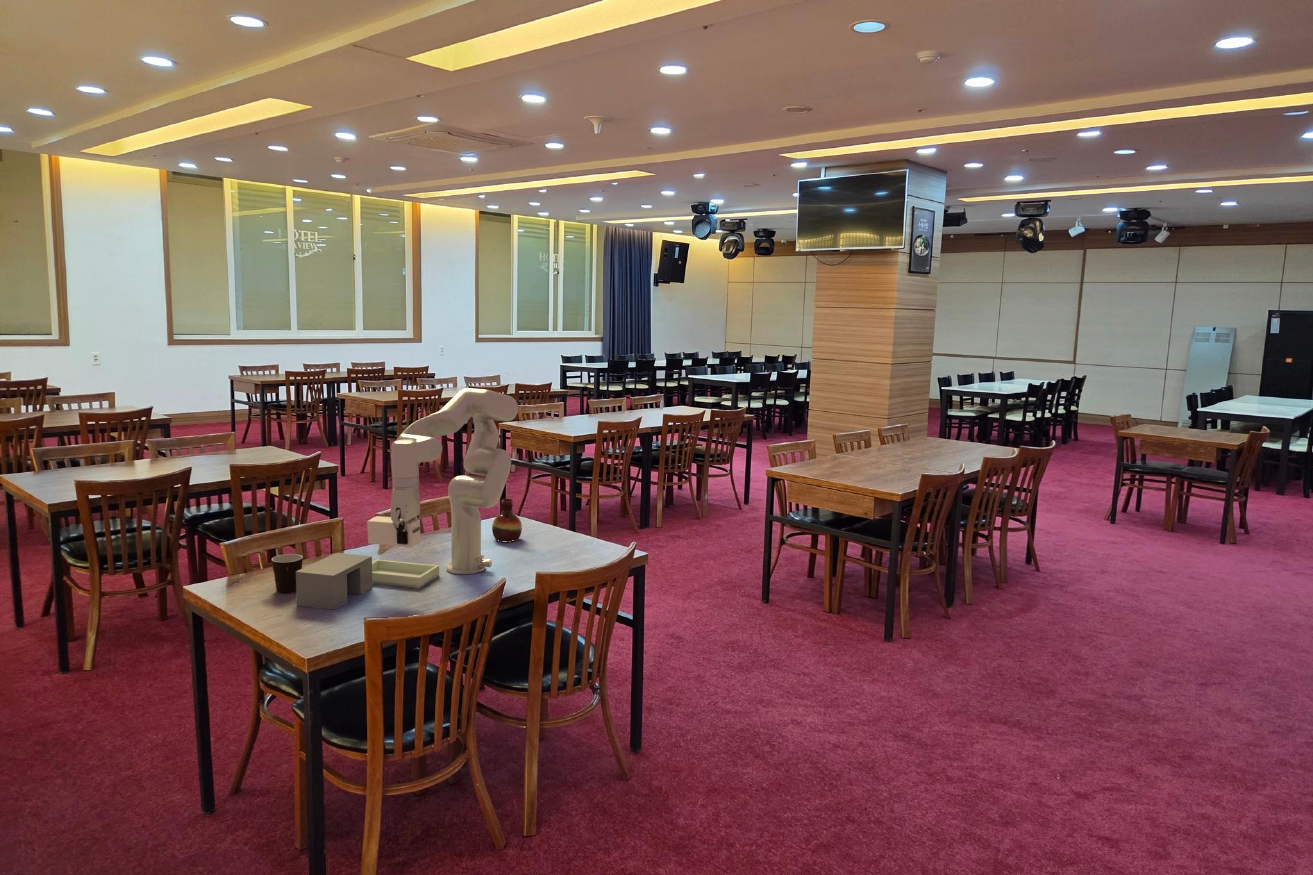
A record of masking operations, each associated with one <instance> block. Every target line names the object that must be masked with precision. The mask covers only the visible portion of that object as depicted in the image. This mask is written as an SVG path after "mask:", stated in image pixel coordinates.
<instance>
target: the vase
mask: <svg viewBox="0 0 1313 875" xmlns="http://www.w3.org/2000/svg"><path fill="white" fill-rule="evenodd" d="M513 503H514V500H513V499H512V498H503V499H502V500H501V509H502V511H501V513H499V514H498V515H497V516H496V517H495V518H494V520H493V523H492V525H491V531H492V535H493V537H494V539H495V540H496V541H497V540H499V541H512V540H517V539H518V538H520V537H521V534H522V531H523V530H522V529H523V525H522V522H521V519H520V518H519V517H518V515H516V514H515V513H513ZM518 540H519V539H518ZM518 540H517V541H518ZM499 541H498V542H499Z"/></svg>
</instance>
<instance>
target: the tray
mask: <svg viewBox="0 0 1313 875" xmlns="http://www.w3.org/2000/svg"><path fill="white" fill-rule="evenodd" d="M439 577H440V565H437V564H427V563H417V562H407V561H399V560H398V561H397V560H396V561H395V560H389V559H387V560H386V559H378V558H377V559H375V560H372V583H373V584H372V585H374V584H375V585H383V586H392V587H400V588H408V589H409V588H410V589H417V590H418V589H419V590H420V589H422V588H423V587H424V586H426V585H428V584H429V583H431V582H432V581H434V580H435V579H438V578H439Z"/></svg>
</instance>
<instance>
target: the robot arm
mask: <svg viewBox="0 0 1313 875" xmlns="http://www.w3.org/2000/svg"><path fill="white" fill-rule="evenodd" d="M518 410H519V405H518V403H517V400H516V399H515V398H514V397H513V396H510V395H508V394H504V393H501V392H497V391H493V390H491V389H483V388H470V387H468V388H467V387H466V388H463V389H460V390H459V391H458V392H456V394H454V395H453V397H451V399H450V400H448V402H447V403H446V404H445V405H444V406H443V407H442V408H441V409H440V410H438V411H436V412H434V413H431V414H429V415H427V416H425V417H423V418H420V419H418V420H416V421H414V422H413V423H411V424H410V425H409V426H407V427H406V428H405V429H404V430H403V431H402V432H401V434H400V435H398V437H397V439H396V440H395V441H393V442H392V443H391V445H390V450H391V452H390V453H391V479H392V491H391V497H390V498H391V499H390V517H391V520H392V521H393V523H392V524H393V525H394V526H395V528H396V531H397V544H405V545H406V544H408V531H406V527H407V521H409V520H411V519H420V518H419V517H420V513H421V499H420V498H421V497H420V490H419V489H420V488H419V487H420V479H419V478H420V475H419V474H420V472H419V464H420V463H430V462H434V461H436V460H438V459H439V458H440V456H441V455H442V452H443V445H442V442H440V440H439V439H437V438H436V437H443V436H448V435H451V434H455V433H457V432H458V431H459V430H460V429H461V428H463V426H464V425H465V424H466V423H467V422H468V421H469V420H470V419H471V418H472V421H473V426H474V432H473V435H472V439H471V441H470V443H469V446H468V448H467V451H466V454H465V457H464V460H463V468H464V471H466V472H468V473H469V474H472V475H466V474H463V475H457V476H455V477H453V478H452V479H451V480H450V482H449V484H448V487H447V492H448V499H449V503H450V511H451V529H450V530H451V534H450V535H451V562H450V563H448V564H447V565H446V571H447V572H449V573H451V574H456V575H474V574H478V572H479V573H481V572H483V571H484V569H485V570H486V568H492V564H493V563H492V560H491V559H485V557H484V556H485V555H484V554H482V551H481V550H482V517H481V512H480V510H479V508H486V509H488V508H489V509H490V508H493V507H495V506H496V505H497V504H498V503H499V501H500V498H501V496H502V493H503V491H504V488H505V486H506V483H507V481H508V477H509V475H510V471H511V469H512V468H511V466H512V459H511V458H512V457H511V456H510V454H509V452H508V451H507V450H505V449H502V448H497V447H498V443H499V440H500V434H499V430H498V427H497V426H496V423H495V421H499V422H511V421H513V420H514V419H515V418H516V417H517V415H518V412H519V411H518ZM474 475H475V476H474ZM477 475H478V476H477ZM479 476H484V477H479ZM400 519H403V521H400ZM400 523H403V526H402V525H401V524H400Z"/></svg>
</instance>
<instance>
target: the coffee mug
mask: <svg viewBox="0 0 1313 875" xmlns="http://www.w3.org/2000/svg"><path fill="white" fill-rule="evenodd" d="M303 559H304V557H303V555H301V554H296V553H286V554H279V555H275V556H274V557H272V558H271V564H272V565H271V566H272V570H273V571H272V572H273V577H274V582H275V588H276V592H277V593H278V594H280V595H281V594H282V595H283V594H285V595H287V594H294V593H296V571H298V570H300V569H302V568H303Z"/></svg>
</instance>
